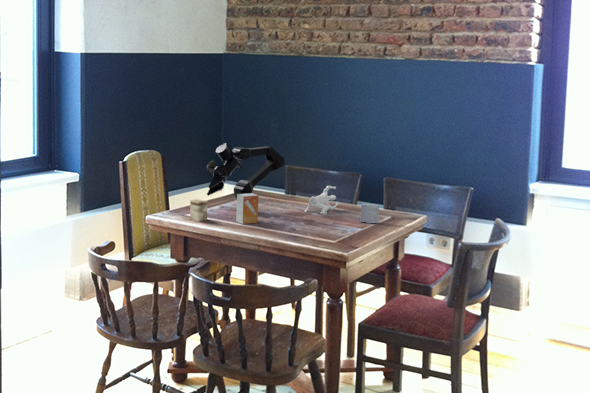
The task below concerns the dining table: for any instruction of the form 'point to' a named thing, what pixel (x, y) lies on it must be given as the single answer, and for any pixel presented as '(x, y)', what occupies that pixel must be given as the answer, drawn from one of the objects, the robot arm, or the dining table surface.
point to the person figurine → (322, 201)
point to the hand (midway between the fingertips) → (208, 191)
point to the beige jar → (198, 209)
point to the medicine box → (369, 213)
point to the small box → (247, 208)
